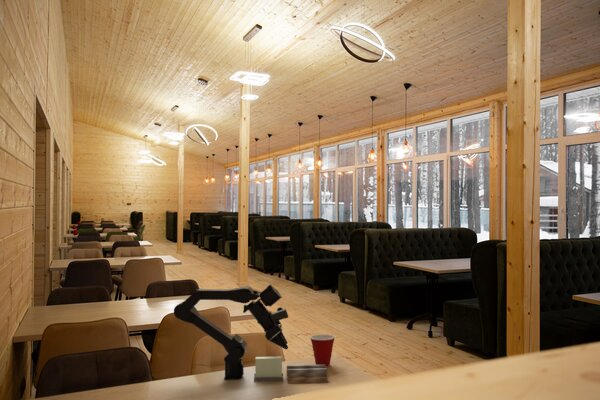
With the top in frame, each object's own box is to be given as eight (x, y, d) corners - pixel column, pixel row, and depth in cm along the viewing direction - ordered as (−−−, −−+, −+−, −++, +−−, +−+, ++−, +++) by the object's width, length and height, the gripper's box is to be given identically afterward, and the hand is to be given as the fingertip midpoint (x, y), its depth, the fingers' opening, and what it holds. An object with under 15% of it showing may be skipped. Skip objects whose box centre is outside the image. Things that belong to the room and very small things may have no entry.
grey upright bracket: (253, 381, 168) (253, 378, 169) (254, 376, 174) (254, 373, 174) (283, 380, 169) (283, 377, 169) (282, 375, 175) (282, 372, 175)
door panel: (255, 380, 170) (255, 358, 170) (255, 378, 172) (255, 356, 173) (281, 379, 171) (282, 358, 171) (281, 377, 173) (281, 356, 173)
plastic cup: (328, 359, 195) (328, 331, 196) (340, 367, 185) (340, 337, 186) (305, 362, 191) (305, 333, 192) (316, 370, 181) (316, 340, 182)
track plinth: (287, 382, 167) (287, 372, 167) (286, 373, 177) (286, 363, 177) (327, 381, 168) (327, 371, 168) (324, 372, 178) (324, 362, 178)
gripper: (277, 303, 166) (304, 336, 165) (277, 298, 184) (301, 328, 183) (254, 323, 165) (280, 357, 163) (256, 316, 183) (280, 346, 182)
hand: (286, 346), depth 173 cm, fingers open, 9 cm apart
